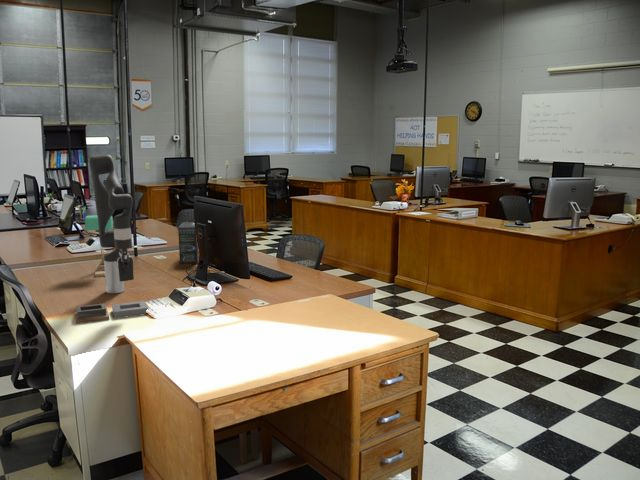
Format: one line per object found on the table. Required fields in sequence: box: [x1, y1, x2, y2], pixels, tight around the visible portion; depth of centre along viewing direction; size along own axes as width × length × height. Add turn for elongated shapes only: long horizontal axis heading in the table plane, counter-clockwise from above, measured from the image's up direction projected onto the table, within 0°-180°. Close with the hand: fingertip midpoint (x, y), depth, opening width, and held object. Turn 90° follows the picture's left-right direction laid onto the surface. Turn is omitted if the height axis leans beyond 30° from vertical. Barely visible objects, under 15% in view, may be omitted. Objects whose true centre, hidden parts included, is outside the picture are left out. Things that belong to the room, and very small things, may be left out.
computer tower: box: [177, 221, 199, 264], centre depth 375 cm, size 22×12×26 cm, turn 6°
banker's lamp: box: [84, 214, 114, 278], centre depth 339 cm, size 16×21×35 cm
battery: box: [117, 255, 135, 282], centre depth 263 cm, size 7×4×11 cm, turn 125°
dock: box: [111, 300, 149, 319], centre depth 267 cm, size 12×15×3 cm
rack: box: [74, 303, 110, 325], centre depth 260 cm, size 14×14×4 cm
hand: (125, 273), depth 263 cm, fingers closed on battery, 4 cm apart
